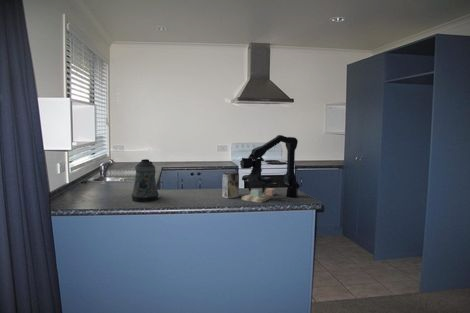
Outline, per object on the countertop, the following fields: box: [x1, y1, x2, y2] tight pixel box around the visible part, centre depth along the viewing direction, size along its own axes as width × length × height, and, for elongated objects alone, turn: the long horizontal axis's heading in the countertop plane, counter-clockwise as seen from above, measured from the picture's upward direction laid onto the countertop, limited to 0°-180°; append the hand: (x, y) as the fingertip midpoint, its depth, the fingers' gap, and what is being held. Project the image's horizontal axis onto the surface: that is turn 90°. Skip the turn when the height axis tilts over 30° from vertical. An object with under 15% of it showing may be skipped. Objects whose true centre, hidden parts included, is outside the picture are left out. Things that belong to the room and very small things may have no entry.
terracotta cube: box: [265, 187, 276, 197], centre depth 231 cm, size 4×4×4 cm
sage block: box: [250, 188, 263, 197], centre depth 217 cm, size 6×6×4 cm
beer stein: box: [131, 158, 159, 203], centre depth 214 cm, size 16×19×25 cm
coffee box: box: [221, 171, 240, 199], centre depth 222 cm, size 9×6×16 cm
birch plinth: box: [240, 192, 272, 204], centre depth 217 cm, size 14×14×2 cm
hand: (256, 192), depth 217 cm, fingers open, 9 cm apart
